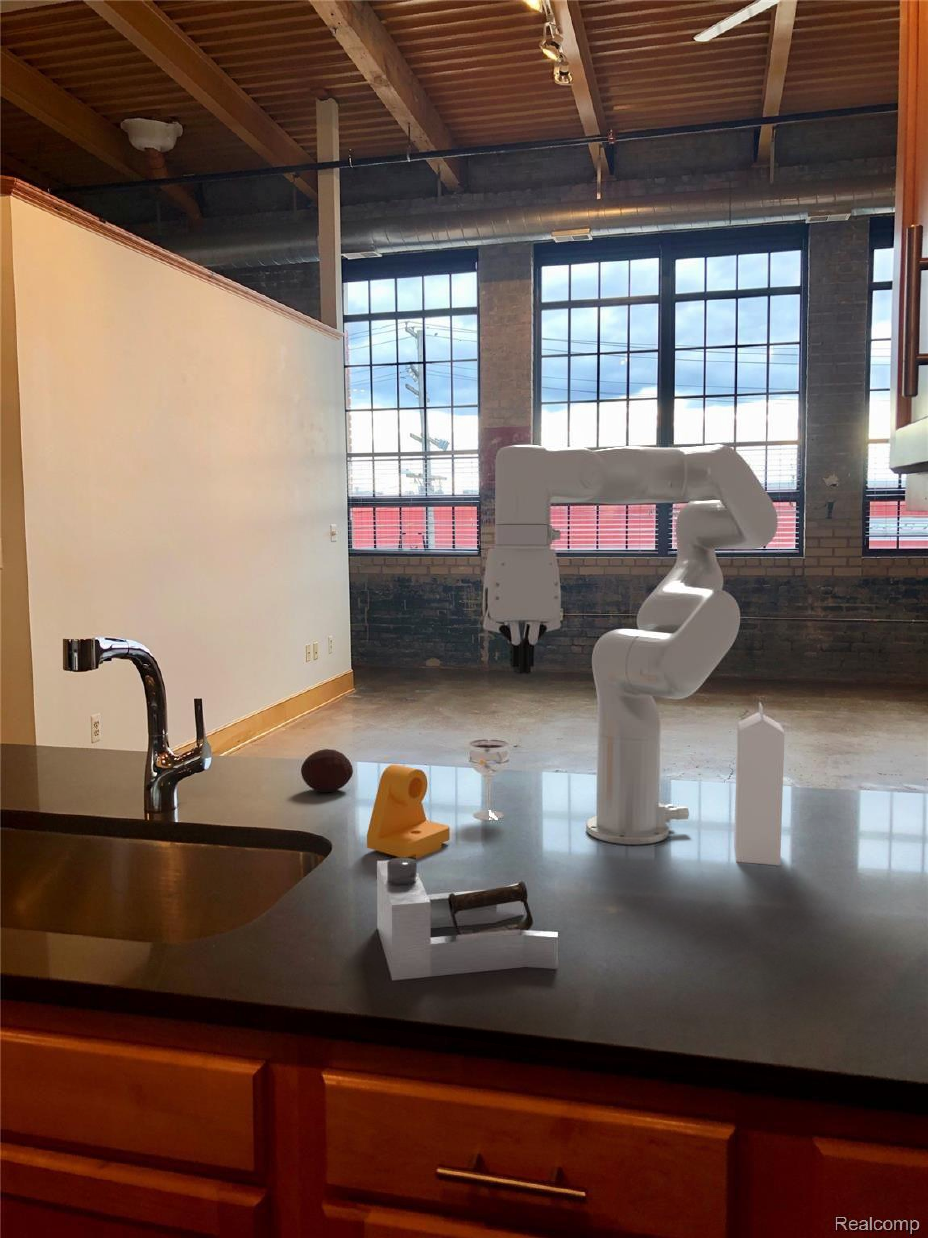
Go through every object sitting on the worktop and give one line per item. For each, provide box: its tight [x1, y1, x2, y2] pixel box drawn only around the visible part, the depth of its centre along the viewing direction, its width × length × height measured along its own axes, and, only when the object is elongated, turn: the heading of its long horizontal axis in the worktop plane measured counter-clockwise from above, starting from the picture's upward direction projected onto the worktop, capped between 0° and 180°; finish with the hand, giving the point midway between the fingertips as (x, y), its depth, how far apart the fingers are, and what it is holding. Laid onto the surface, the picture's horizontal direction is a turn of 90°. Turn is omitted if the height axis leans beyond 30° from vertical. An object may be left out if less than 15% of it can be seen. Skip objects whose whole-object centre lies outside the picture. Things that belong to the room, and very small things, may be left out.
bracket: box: [366, 764, 451, 860], centre depth 133 cm, size 11×7×12 cm, turn 142°
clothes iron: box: [448, 881, 534, 935], centre depth 99 cm, size 7×11×10 cm, turn 107°
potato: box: [300, 748, 354, 793], centre depth 163 cm, size 8×9×8 cm
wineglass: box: [467, 738, 510, 821], centre depth 149 cm, size 7×7×12 cm
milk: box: [733, 701, 786, 866], centre depth 129 cm, size 6×6×22 cm
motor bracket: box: [376, 857, 559, 981], centre depth 101 cm, size 18×15×10 cm
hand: (521, 672), depth 124 cm, fingers closed
